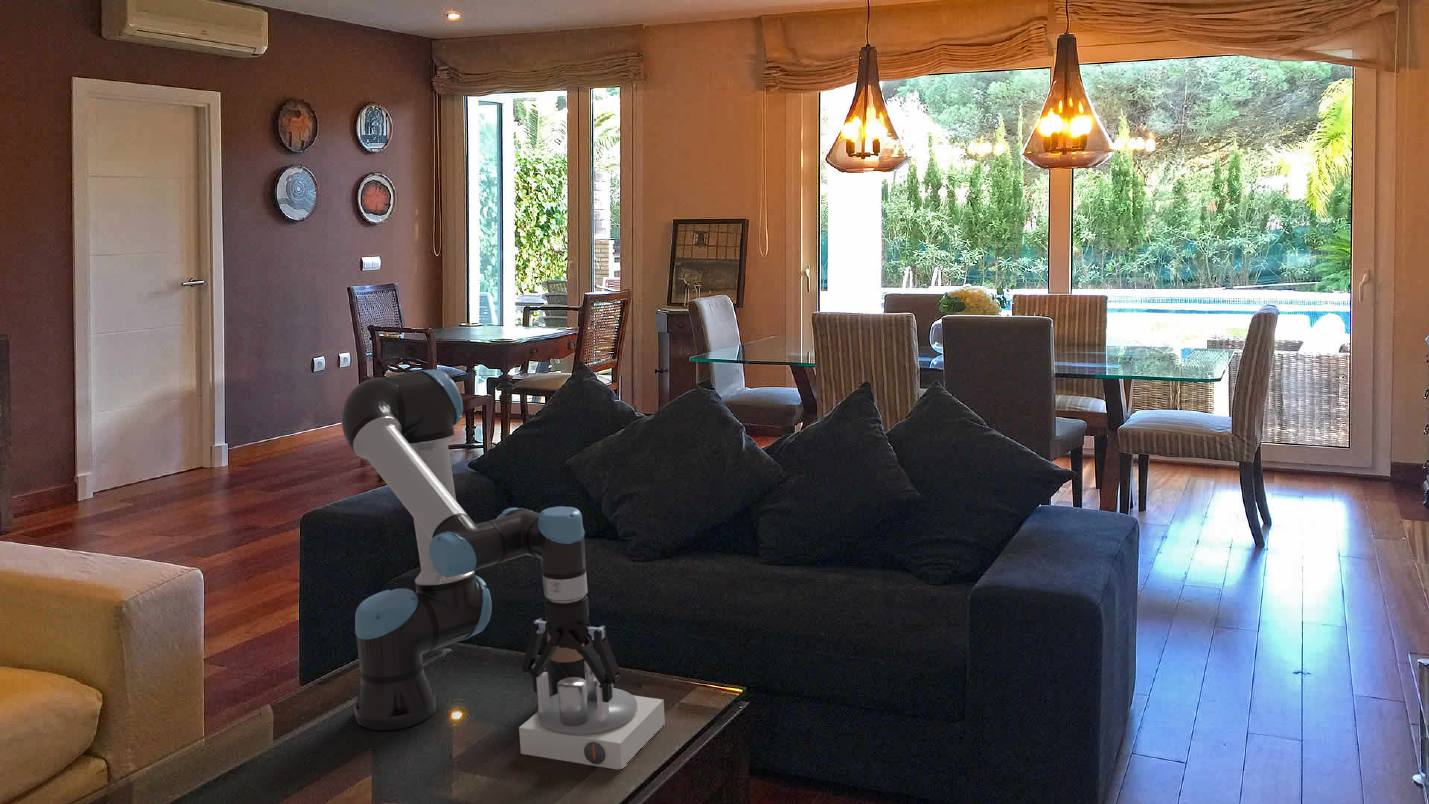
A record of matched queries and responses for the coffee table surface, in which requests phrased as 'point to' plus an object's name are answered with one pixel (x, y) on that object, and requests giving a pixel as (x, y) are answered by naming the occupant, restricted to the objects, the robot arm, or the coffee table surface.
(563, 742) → the scale
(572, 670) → the travel mug
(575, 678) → the cylinder
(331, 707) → the coffee table surface
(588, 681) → the cylinder
